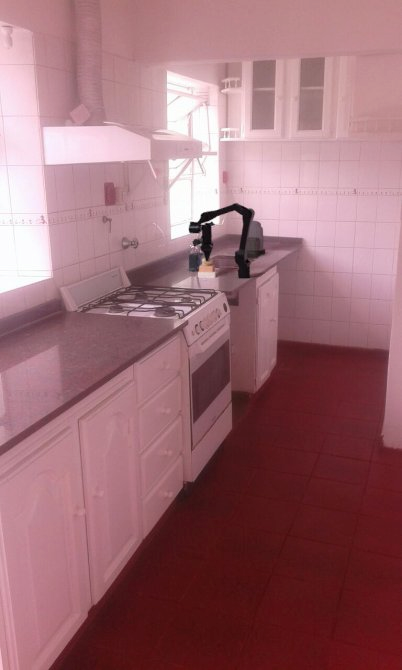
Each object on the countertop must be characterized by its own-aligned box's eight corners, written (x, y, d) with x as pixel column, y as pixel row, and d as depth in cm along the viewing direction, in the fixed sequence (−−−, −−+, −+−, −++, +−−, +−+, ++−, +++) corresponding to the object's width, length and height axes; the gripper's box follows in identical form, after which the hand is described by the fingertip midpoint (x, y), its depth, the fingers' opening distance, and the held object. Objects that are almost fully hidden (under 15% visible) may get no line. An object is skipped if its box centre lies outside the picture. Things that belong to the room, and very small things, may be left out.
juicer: (245, 251, 457) (245, 218, 451) (267, 252, 453) (267, 218, 447) (238, 258, 429) (237, 222, 423) (260, 258, 425) (260, 222, 419)
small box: (196, 271, 379) (196, 255, 376) (188, 271, 382) (188, 254, 380) (206, 269, 387) (206, 252, 384) (198, 268, 391) (198, 252, 388)
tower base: (216, 275, 368) (216, 269, 367) (215, 278, 358) (214, 272, 357) (199, 275, 369) (199, 269, 368) (198, 278, 360) (197, 272, 359)
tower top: (215, 270, 366) (214, 264, 365) (212, 272, 358) (212, 266, 357) (201, 270, 367) (201, 264, 367) (199, 272, 360) (199, 266, 359)
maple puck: (212, 264, 365) (212, 258, 364) (212, 266, 359) (211, 259, 358) (202, 264, 365) (202, 258, 364) (201, 266, 359) (201, 259, 358)
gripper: (194, 232, 367) (195, 257, 371) (191, 235, 349) (192, 262, 353) (213, 231, 365) (213, 257, 370) (210, 235, 348) (211, 262, 352)
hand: (207, 260), depth 361 cm, fingers open, 7 cm apart
